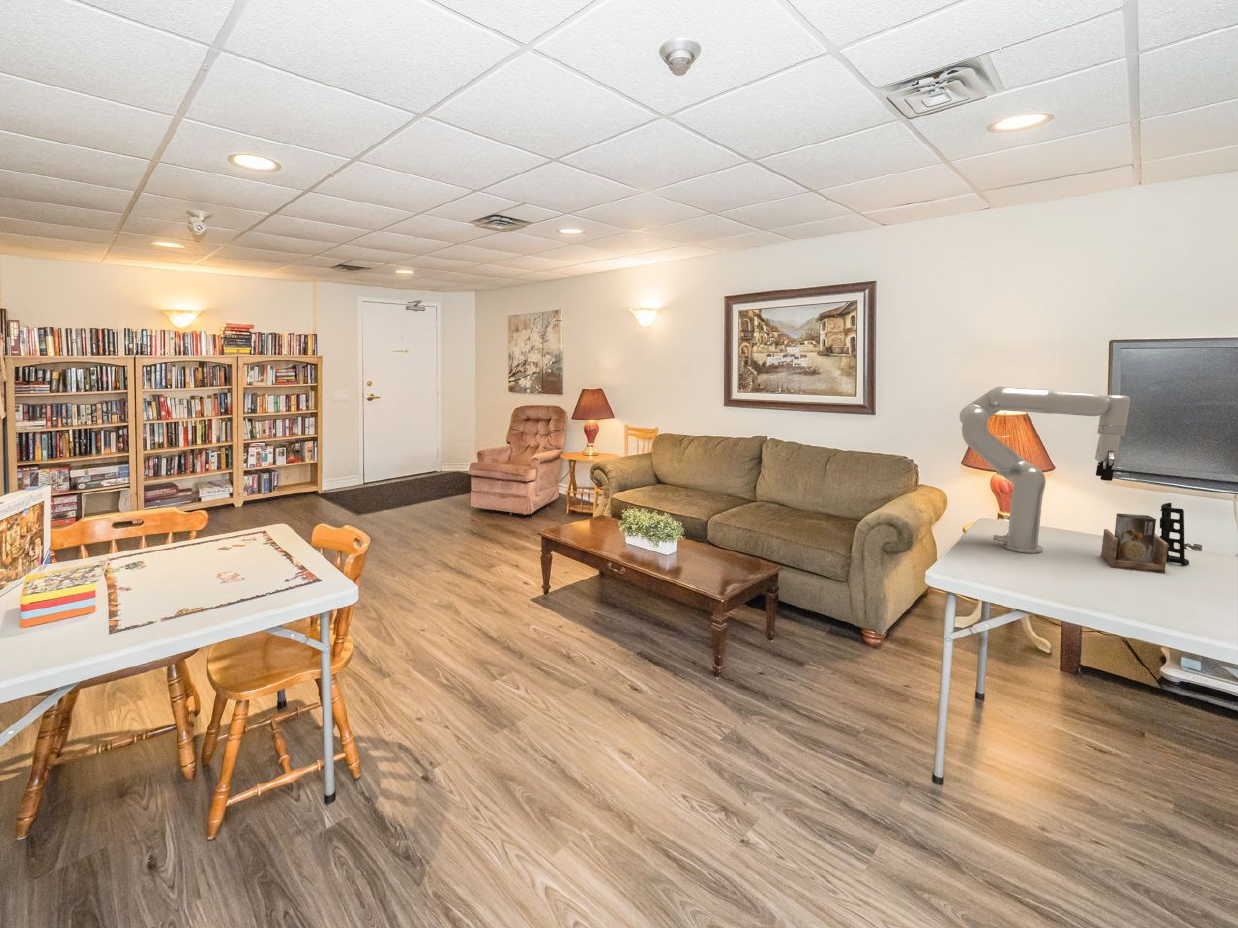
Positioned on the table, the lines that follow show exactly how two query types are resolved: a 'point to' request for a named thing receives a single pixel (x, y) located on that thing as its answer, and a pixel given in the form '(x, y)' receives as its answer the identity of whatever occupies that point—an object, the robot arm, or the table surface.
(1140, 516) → the coffee box
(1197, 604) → the table surface
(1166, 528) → the holder
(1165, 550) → the cradle
